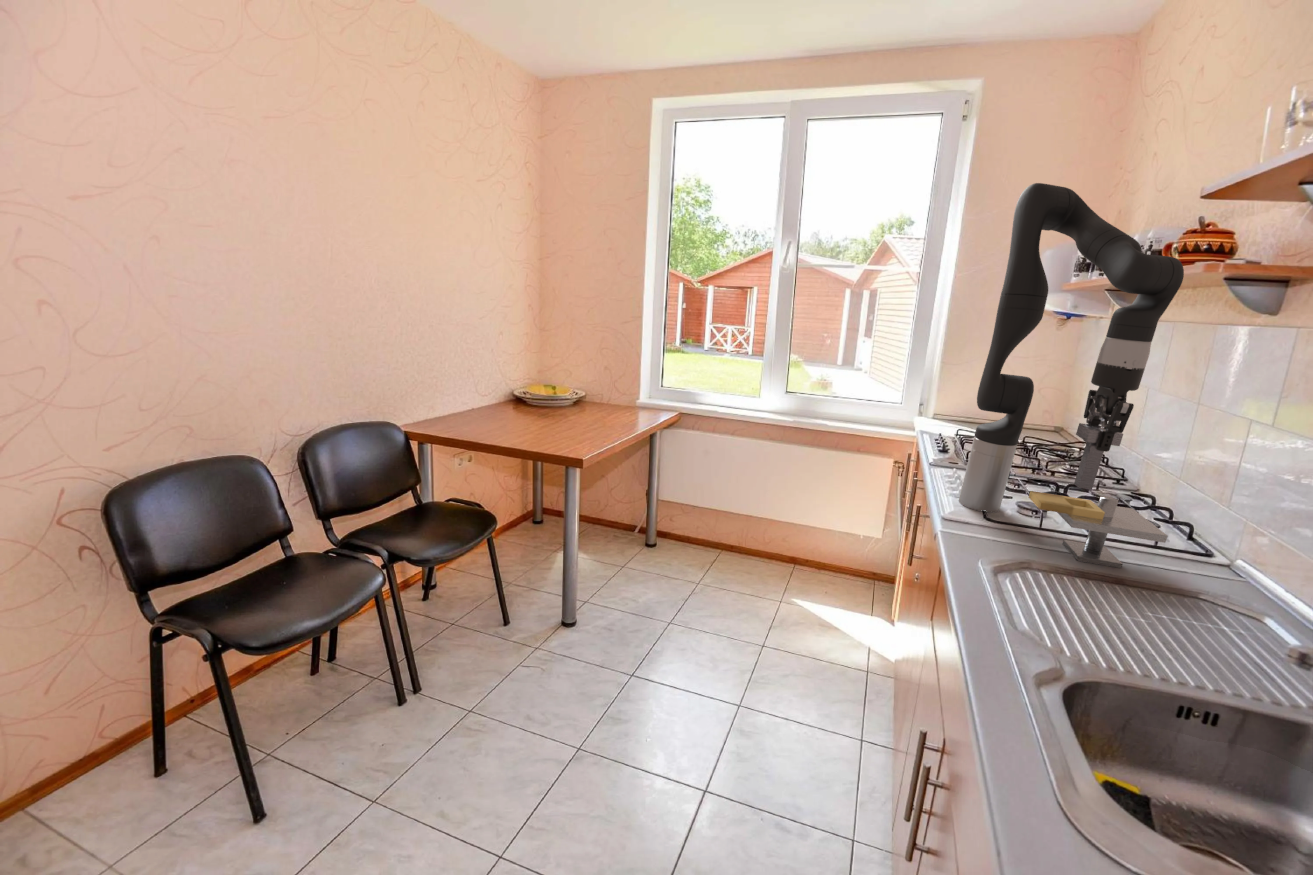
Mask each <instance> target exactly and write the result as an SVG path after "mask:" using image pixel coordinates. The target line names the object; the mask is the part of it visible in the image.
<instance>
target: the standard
mask: <svg viewBox="0 0 1313 875" xmlns="http://www.w3.org/2000/svg"><path fill="white" fill-rule="evenodd" d="M1093 503H1094V504H1095V505H1097V506H1098V507H1099V508H1100V509H1101V510H1102V511H1104V512H1105V514H1104V517H1103V519H1097V518H1090V517H1084V516H1078V515H1072V514H1066V513H1059V512H1056V513H1057V514H1058V515H1059V516H1060V518H1062V519H1063V520H1064V521H1065V522H1066V523H1067V524H1068V525H1069V527H1071V528H1075V529H1078V530H1079V529H1081V530H1084V531H1085V530H1086V531H1088V535H1087V538H1086V540H1085V542H1079V541H1072V540H1066V539H1063V541H1062V546H1063V547H1064V548H1065V549H1066V550H1067V551H1068V552H1069V553H1070V555H1071V556H1073V558H1074V559H1075V561H1079V562H1084V563H1088V564H1095V565H1101V566H1105V567H1106V566H1107V567H1111V568H1118V569H1122V568H1123V565H1124V564H1123V562H1121V561H1120V559H1119V558H1117V556H1115V554H1114V553H1112V551H1110V550H1109V549H1108V548H1107V547H1106V546H1104V545H1105V543H1106V540H1107V536H1108V534H1110V535H1115V536H1121V537H1127V538H1135V539H1140V540H1147V541H1152V542H1157V543H1158V542H1159V543H1164V544H1165V543H1167V540H1168V537H1169V535H1168V534H1166V532H1163V531H1162V530H1161V529H1160V528H1158V526H1156V525H1155V524H1153V523H1152V522H1150V520H1149V519H1147V518H1146V517H1144V516H1143V515H1141V514H1140V513H1139V512H1138V511H1136V510H1135V509H1134V508H1131V507H1126V506H1125V507H1124V506H1118V504H1119V499H1117V498H1115V497H1112V496H1108V495H1100V496H1099V500H1098V502H1093Z"/></svg>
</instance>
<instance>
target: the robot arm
mask: <svg viewBox="0 0 1313 875" xmlns="http://www.w3.org/2000/svg"><path fill="white" fill-rule="evenodd" d="M1012 219H1013V221H1012V229H1011V231H1012V232H1011V240H1010V246H1009V255H1008V260H1007V264H1006V272H1005V275H1004V280H1003V285H1002V289H1001V292H1000V297H999V302H998V306H997V312H996V317H995V322H994V328H993V333H992V336H991V343H990V345H989V346H990V348H989V349H988V350H989V351H988V354H987V358H986V361H985V365H984V368H983V371H982V374H981V375H982V376H981V377H980V378H981V379H980V382H979V385H978V390H977V395H976V406H977V408H978V409H979V410H981V411H985V412H991V413H998V414H1006V415H1005V416H1004V417H1002V418H1000V419H997V420H996V421H991V422H985V423H981V424H979V425H978V426H977V427H976V429H975V432H974V435H973V436H974V437H973V440H972V444H971V449H970V453H969V456H968V457H969V458H968V461H967V464H966V469H965V474H964V477H963V482H962V485H961V489H960V494H959V497H958V503H960V505H962V506H964V507H966V508H968V509H972V510H974V511H977V510H978V512H982V511H981V510H986V511H987V512H986V513H993V514H994V513H999V511H1000V510H1001V507H1002V503H1003V498H1004V495H1005V492H1006V488H1007V485H1008V484H1007V483H1008V480H1009V477H1010V473H1011V469H1012V465H1013V461H1014V457H1015V453H1016V450H1017V446H1018V443H1019V439H1020V436H1021V434H1022V432H1023V428H1024V424H1025V421H1026V418H1027V416H1028V412H1029V409H1030V406H1031V404H1032V400H1033V396H1034V390H1035V384H1034V381H1033V379H1032V378H1030V377H1028V376H1024V375H1015V374H1006V373H1002V369H1003V368H1004V364H1005V363H1006V361H1007V359H1008V358H1009V356H1010V355H1011V354H1012V353H1013V351H1014V350H1015V348H1016V347H1017V346H1019V344H1020V343H1022V341H1024V340H1025V339H1026V338H1027V337H1028V336H1029V335H1030V334H1031V333H1032V332H1033V331H1034V330H1035V329H1036V328H1037V326H1038V325H1039V324H1040V322H1041V321H1042V320H1043V317H1044V313H1045V308H1046V304H1047V300H1048V296H1049V284H1048V278H1047V275H1046V272H1045V268H1044V266H1043V263H1042V259H1041V254H1040V242H1041V237H1042V236H1041V235H1042V231H1053V232H1056V233H1057V232H1058V233H1060V234H1062V235H1065V236H1067V237H1069V238H1070V239H1072V240H1073V241H1074V243H1075V245H1076V248H1077V250H1078V252H1079V253H1080V254H1081V255H1082V256H1083V257H1084V258H1085V259H1086V260H1088V261H1089V262H1091V264H1093V265H1094V266H1096V267H1098V268H1099V269H1101V271H1102V272H1103V273H1104V275H1105V277H1106V278H1107V280H1108V282H1110V284H1111V285H1112V286H1113V287H1114V288H1116V289H1117V290H1120V291H1121V292H1123V293H1127V294H1133V295H1134V294H1135V295H1137V296H1136V298H1135V299H1134V300H1133V301H1132V303H1131V304H1130V305H1128V306H1123V307H1120V308H1119V307H1118V308H1117V309H1115V311H1114V312H1112V315H1111V319H1110V323H1109V326H1108V328H1107V332H1106V336H1105V337H1104V341H1103V343H1102V345H1101V347H1100V350H1099V353H1098V357H1097V359H1096V363H1095V367H1094V370H1093V374H1092V377H1091V381H1090V382H1091V384H1092V385H1093V386H1094V385H1095V386H1098V388H1097V390H1096V389H1089V391H1088V394H1087V399H1086V404H1085V408H1084V413H1083V418H1084V419H1086V420H1085V421H1086V423H1085V424H1091V425H1099V426H1101V431H1100V434H1099V437H1098V441H1097V443H1096V446H1095V448H1096V449H1097V450H1098V451H1104V452H1107V453H1108V452H1109V451H1110V449H1111V447H1112V445H1111V444H1112V441H1113V438H1114V434H1117V433H1118V432H1119V433H1123V432H1124V430H1125V428H1126V425H1127V423H1128V421H1129V418H1130V417H1131V413H1132V412H1133V410H1134V405H1135V404H1134V403H1130V402H1127V398H1128V396H1127V395H1128V392H1133V391H1138V390H1139V388H1140V385H1141V382H1142V379H1143V376H1144V373H1145V370H1146V367H1147V363H1148V360H1149V356H1150V352H1151V347H1152V346H1151V345H1152V342H1153V340H1154V337H1155V332H1156V329H1157V326H1158V323H1159V321H1160V320H1161V319H1160V318H1162V316H1163V315H1164V313H1165V312H1166V310H1167V309H1168V307H1169V306H1170V304H1171V303H1172V301H1173V299H1175V297H1176V294H1177V293H1178V291H1179V290H1180V288H1181V287H1182V284H1183V280H1184V275H1185V273H1184V271H1185V270H1184V266H1183V264H1182V261H1180V260H1179V259H1178V258H1177V257H1173V256H1168V255H1158V254H1157V255H1156V254H1147V253H1143V252H1142V246H1141V244H1140V243H1139V242H1138V241H1137V240H1136V239H1135V238H1134V237H1132V236H1130V235H1129V234H1128V233H1126V232H1124V231H1122V230H1121V229H1119V228H1118V227H1116V226H1115V225H1112V224H1111V223H1110V222H1108V221H1106V220H1105V219H1103V218H1102V217H1101V216H1099V214H1098V213H1096V212H1095V211H1094V210H1093V209H1092V208H1091V207H1090V206H1089V205H1088V204H1087V203H1086V202H1085V201H1084V200H1083V198H1082V197H1081V196H1080V195H1079V194H1077V192H1076V191H1074V190H1073V189H1071V188H1069V187H1066V186H1060V185H1055V184H1048V183H1042V182H1036V183H1032V184H1030V185H1028V186H1027V187H1026V188H1025V189H1024V190H1023V191H1022V192H1021V194H1020V195H1019V198H1018V200H1017V202H1016V206H1015V209H1014V214H1013V218H1012ZM1082 440H1083V439H1082ZM1083 441H1084V442H1085V443H1086V441H1085V440H1083Z"/></svg>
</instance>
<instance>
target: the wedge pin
mask: <svg viewBox="0 0 1313 875" xmlns="http://www.w3.org/2000/svg"><path fill="white" fill-rule="evenodd" d="M1100 431H1101V425H1100V426H1099V425H1091V424H1088V423H1084V422H1083V423H1082V422H1079V423H1078V426H1077V429H1076V433H1075V435H1076V436H1077V437H1078V438H1080V439H1081V440H1085V441H1086V442H1085V441H1084V442H1085V446H1084V449H1083V453H1082V456H1081V459H1080V463H1079V465H1078V469H1077V473H1076V475H1075V476H1076V477H1075V479H1074V481H1073V484H1074V485H1075V486H1076V487H1077V488H1079V489H1084V490H1085V489H1086V490H1093V488H1094V485H1095V484H1094V483H1095V481H1096V477H1097V474H1098V472H1099V468H1100V465H1101V462H1102V459H1103V455H1104V452H1105V451H1098V450H1097V449H1096V448H1095V446H1096V443H1097V441H1098V437H1099V434H1100ZM1123 436H1124V433H1123V432H1122V433H1119V432H1118V433H1117V434H1114V438H1113V441H1112V444H1111V446H1115V447H1120V446H1121V442H1122V440H1123Z"/></svg>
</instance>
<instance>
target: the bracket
mask: <svg viewBox="0 0 1313 875" xmlns="http://www.w3.org/2000/svg"><path fill="white" fill-rule="evenodd" d="M1028 498H1029V499H1030V501H1031V502H1032V503H1033V504H1034V505H1035V506H1036V507H1037V508H1038V510H1040V511H1041V510H1042V511H1043V510H1044V511H1048V512H1053V513H1057V512H1059V513H1066V514H1072V515H1078V516H1084V517H1090V518H1097V519H1103V517H1104V514H1105V512H1104V511H1102V510H1101V509H1100V508H1099V507H1098V506H1097V505H1095V504H1094V503H1095V502H1094V501H1092V500H1091V499H1085V498H1080V497H1072V496H1065V495H1059V494H1054V493H1048V492H1047V493H1046V492H1041V491H1035V490H1030V492H1029V495H1028Z"/></svg>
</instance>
